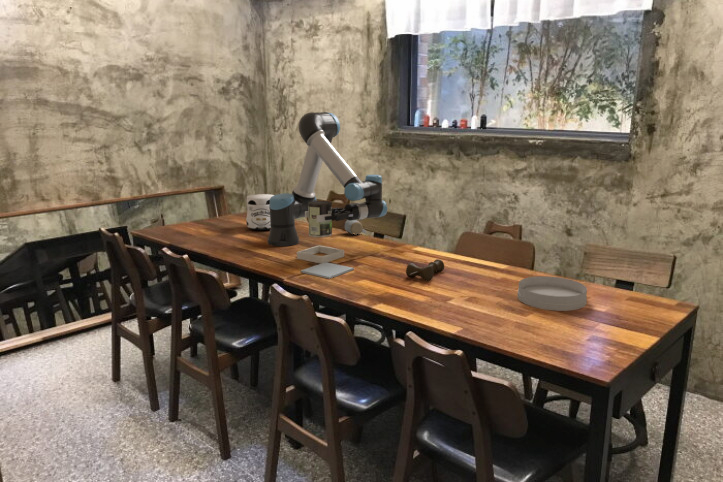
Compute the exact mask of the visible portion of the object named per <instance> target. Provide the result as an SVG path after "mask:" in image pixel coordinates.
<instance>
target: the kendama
mask: <svg viewBox="0 0 723 482" xmlns="http://www.w3.org/2000/svg"><path fill="white" fill-rule="evenodd" d="M444 269H445V263H444V262H443V260H442V259H438V258H437V259H435V260H434V261H430V262H429V263H428V265H427V266H425V267H419V266H417V265H416V264H415V263H413V262H410V263H408V264H407V265H406V269H405V273H406V276H407V277H408V278H413V277H416V276H417V277H421V278H422V279H423V280H424V281H425V282H429V281H431V280H432V279H433V277H434V274H435V273H437V272H443V271H444Z"/></svg>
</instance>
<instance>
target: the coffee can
mask: <svg viewBox="0 0 723 482" xmlns="http://www.w3.org/2000/svg"><path fill="white" fill-rule="evenodd" d="M332 206H333V203H332V201H328V200H316V201H312V202H308V236H309V237H310V238H311V237H312V238H327V237H331V236H333V222H332V221H333V220H331V221H323V222H317V215H325V214H331V216H332V208H333V207H332Z"/></svg>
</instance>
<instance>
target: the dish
mask: <svg viewBox="0 0 723 482" xmlns="http://www.w3.org/2000/svg"><path fill="white" fill-rule="evenodd" d="M587 293H588V288H587V286H585V284H583V283H581V282H578V281H576V280H573V279H569V278H565V277H558V276H541V275H540V276H530V277H525V278H523V279H521V280H520V281H519V282H518V289H517V295H516V296H517V299H518V301H519V302H521V303H523V304H525V305H526V306H529V307H532V308H537V309H541V310H545V311H556V312H557V311H558V312H560V311H561V312H563V311H564V312H567V311H575V310H580V309H582V308H584V307H586V305H587V303H588V302H587V300H588V298H587Z"/></svg>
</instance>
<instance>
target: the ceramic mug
mask: <svg viewBox="0 0 723 482" xmlns="http://www.w3.org/2000/svg"><path fill="white" fill-rule="evenodd" d="M344 229H345V231H346V233H349V234H351V235H353V233H355V234H354V235H353V236H358V235H360V234H361V233H363V234H366V233H367V230H366V229H364V227H363V224H362V223H361V222H360V221H359V220H352V221H349V220H347V219H346V221H345V222H344ZM357 234H358V235H357Z"/></svg>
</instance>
